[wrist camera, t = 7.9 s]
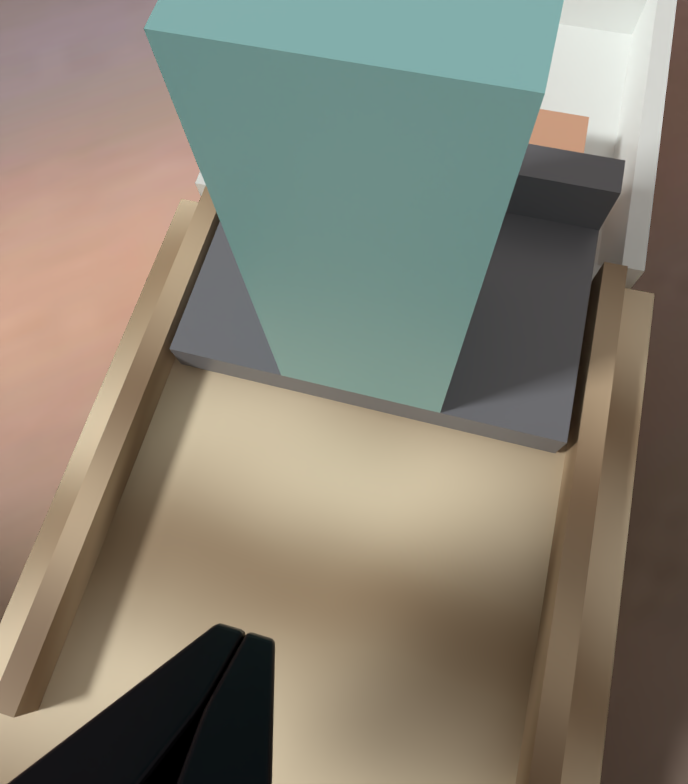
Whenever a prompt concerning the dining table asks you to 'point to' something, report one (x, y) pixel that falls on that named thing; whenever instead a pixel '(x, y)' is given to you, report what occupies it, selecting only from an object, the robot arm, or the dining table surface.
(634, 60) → the tray
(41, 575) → the board
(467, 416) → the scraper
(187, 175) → the dining table surface
